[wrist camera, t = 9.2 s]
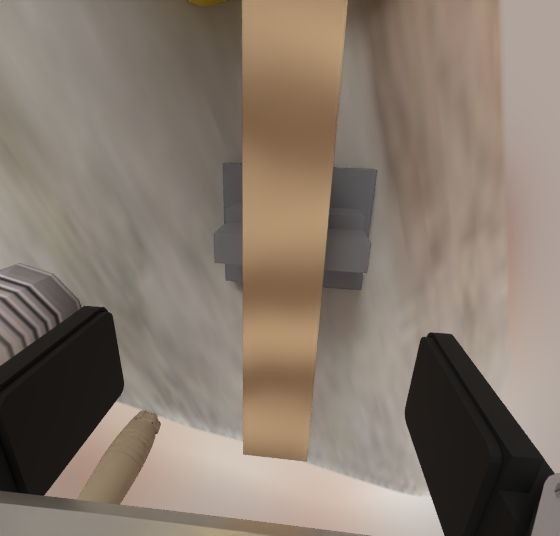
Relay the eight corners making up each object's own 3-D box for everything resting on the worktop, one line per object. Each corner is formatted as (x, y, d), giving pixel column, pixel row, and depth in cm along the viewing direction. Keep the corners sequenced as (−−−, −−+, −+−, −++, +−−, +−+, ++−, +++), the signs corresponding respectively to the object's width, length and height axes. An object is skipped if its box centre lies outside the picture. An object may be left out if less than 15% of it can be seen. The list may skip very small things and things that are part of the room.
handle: (180, 432, 38) (103, 597, 24) (131, 438, 39) (31, 599, 25) (166, 400, 37) (75, 555, 23) (115, 406, 38) (-1, 559, 24)
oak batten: (261, 29, 17) (241, -17, 12) (339, 30, 17) (349, -17, 12) (256, 397, 25) (243, 454, 21) (307, 402, 25) (306, 461, 20)
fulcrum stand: (227, 162, 27) (195, 168, 20) (373, 169, 26) (398, 177, 19) (229, 274, 31) (202, 314, 23) (358, 283, 30) (374, 328, 22)
